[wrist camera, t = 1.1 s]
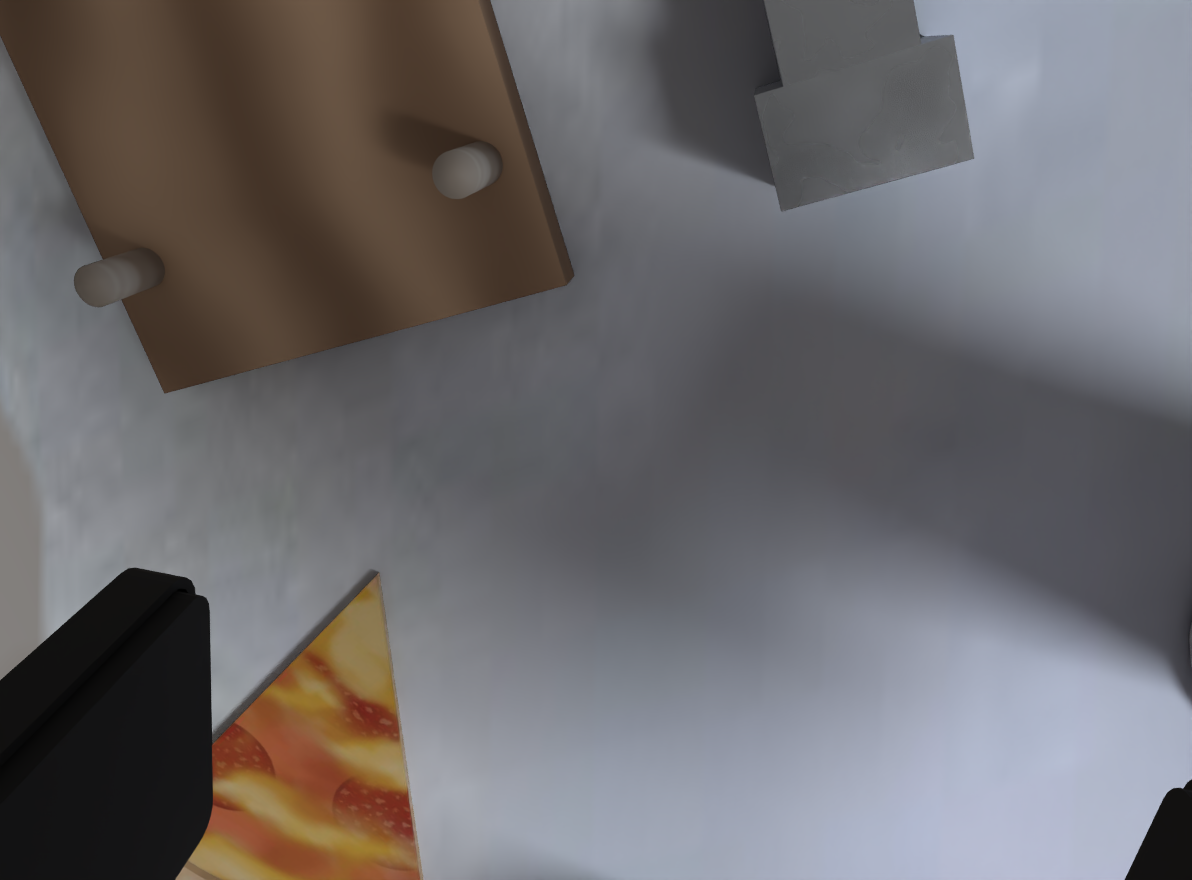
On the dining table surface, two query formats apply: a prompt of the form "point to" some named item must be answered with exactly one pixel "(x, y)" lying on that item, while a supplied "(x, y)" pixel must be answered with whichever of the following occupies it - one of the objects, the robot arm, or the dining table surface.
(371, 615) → the pizza slice
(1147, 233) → the dining table surface
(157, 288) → the peg rack
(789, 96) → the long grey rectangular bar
